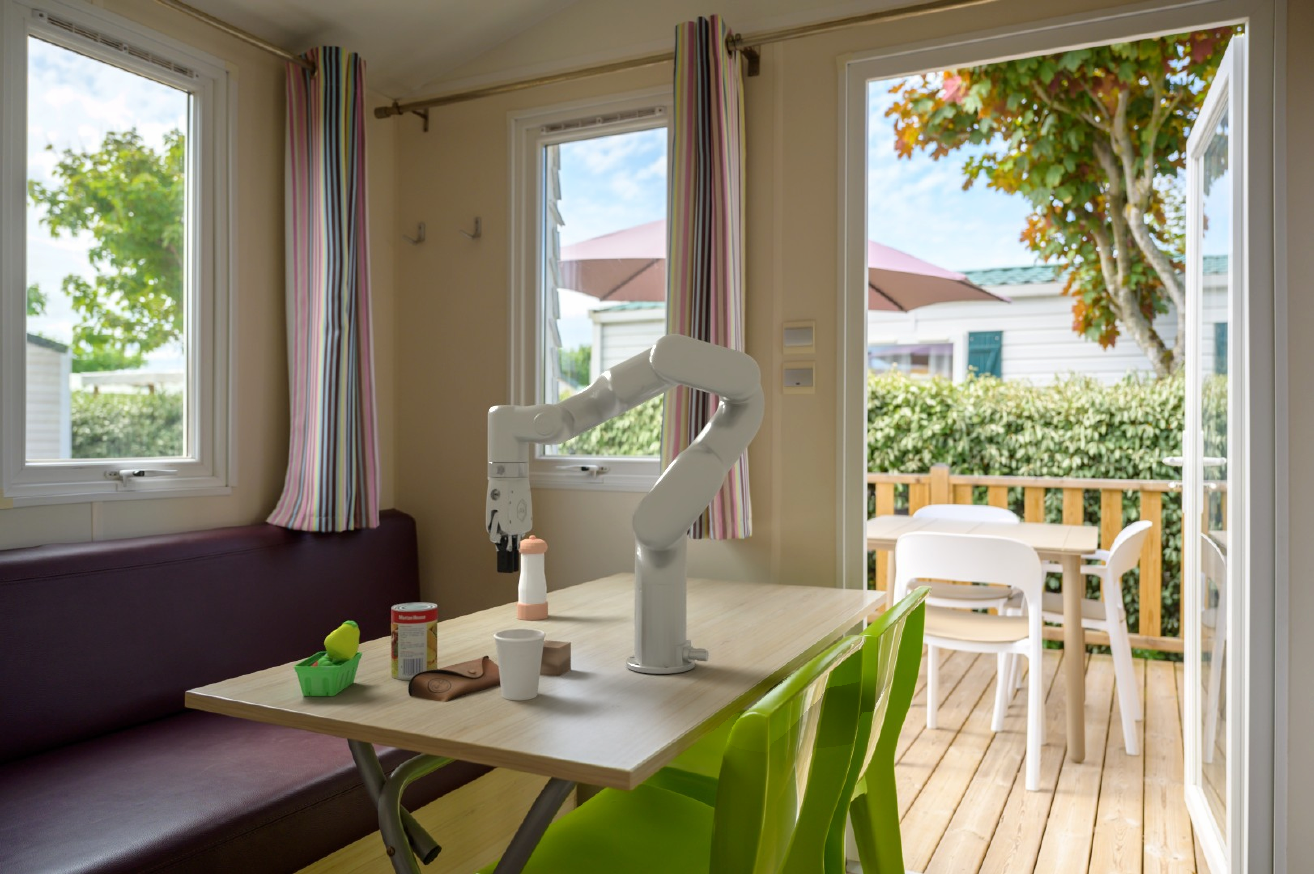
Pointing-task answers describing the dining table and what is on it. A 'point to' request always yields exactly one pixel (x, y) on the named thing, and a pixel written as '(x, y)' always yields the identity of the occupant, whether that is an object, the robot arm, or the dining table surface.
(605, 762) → the dining table surface
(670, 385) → the robot arm
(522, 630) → the dixie cup
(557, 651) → the walnut block
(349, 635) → the fruit basket
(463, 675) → the sunglasses case
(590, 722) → the dining table surface
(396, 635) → the canned food
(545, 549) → the pepper shaker
